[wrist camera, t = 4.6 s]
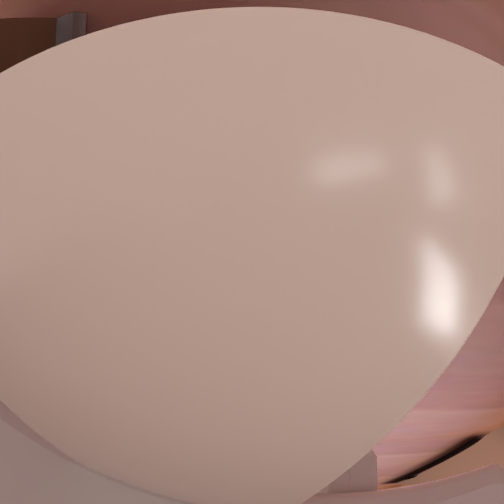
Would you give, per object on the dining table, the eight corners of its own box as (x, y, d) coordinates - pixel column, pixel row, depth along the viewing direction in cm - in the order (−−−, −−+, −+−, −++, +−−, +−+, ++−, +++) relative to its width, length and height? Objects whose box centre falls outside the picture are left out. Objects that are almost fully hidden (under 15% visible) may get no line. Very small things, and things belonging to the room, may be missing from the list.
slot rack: (87, 13, 8) (3, 9, 4) (153, 384, 22) (135, 433, 18) (-36, 76, 9) (-92, 96, 5) (49, 350, 23) (27, 388, 19)
